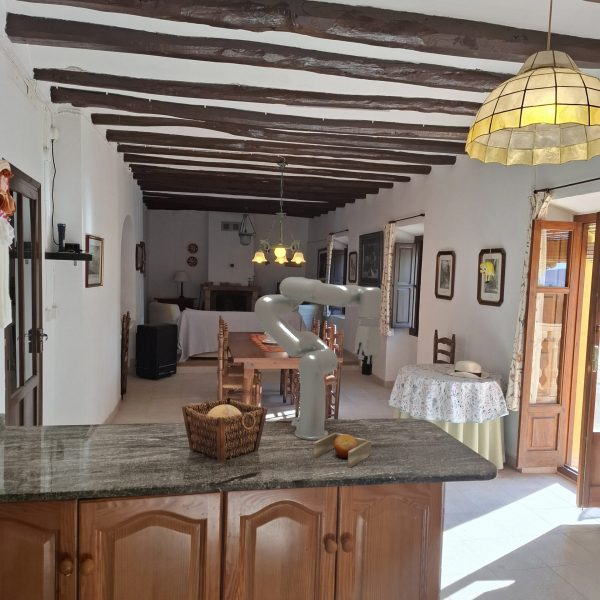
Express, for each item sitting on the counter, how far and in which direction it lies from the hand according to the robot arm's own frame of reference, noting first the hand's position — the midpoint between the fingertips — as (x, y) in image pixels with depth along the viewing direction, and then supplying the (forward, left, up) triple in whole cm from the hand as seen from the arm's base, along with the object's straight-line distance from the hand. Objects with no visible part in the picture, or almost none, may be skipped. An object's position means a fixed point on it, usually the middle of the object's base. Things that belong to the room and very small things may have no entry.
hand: (366, 374), depth 179 cm
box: (-2, -12, -26) cm, 29 cm away
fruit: (-1, -11, -26) cm, 29 cm away
